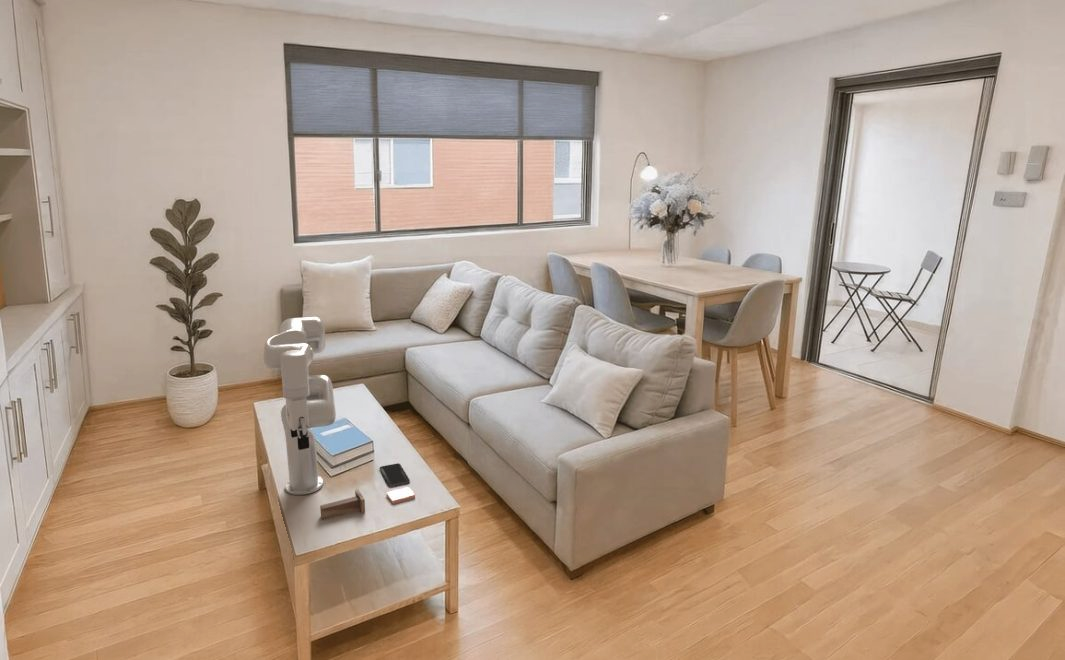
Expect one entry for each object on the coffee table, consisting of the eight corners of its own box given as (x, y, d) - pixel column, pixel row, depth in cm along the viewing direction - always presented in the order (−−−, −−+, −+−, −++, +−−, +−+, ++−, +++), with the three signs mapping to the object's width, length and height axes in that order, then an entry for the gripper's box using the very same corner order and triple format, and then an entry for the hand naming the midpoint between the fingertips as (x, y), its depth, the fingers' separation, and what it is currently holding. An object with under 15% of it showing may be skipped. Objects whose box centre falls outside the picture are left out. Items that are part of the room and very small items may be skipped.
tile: (386, 492, 215) (408, 486, 219) (386, 497, 215) (408, 491, 219) (392, 500, 210) (415, 494, 214) (392, 505, 210) (415, 499, 215)
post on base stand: (319, 513, 204) (318, 499, 203) (358, 502, 211) (358, 489, 209) (324, 523, 198) (323, 509, 197) (365, 512, 205) (364, 499, 204)
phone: (388, 485, 220) (379, 466, 233) (388, 488, 221) (379, 469, 234) (410, 481, 224) (399, 462, 237) (410, 484, 224) (400, 465, 237)
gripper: (277, 384, 195) (281, 434, 199) (289, 402, 181) (293, 456, 185) (302, 380, 199) (306, 429, 203) (315, 398, 185) (319, 451, 189)
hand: (300, 442), depth 194 cm, fingers open, 9 cm apart
